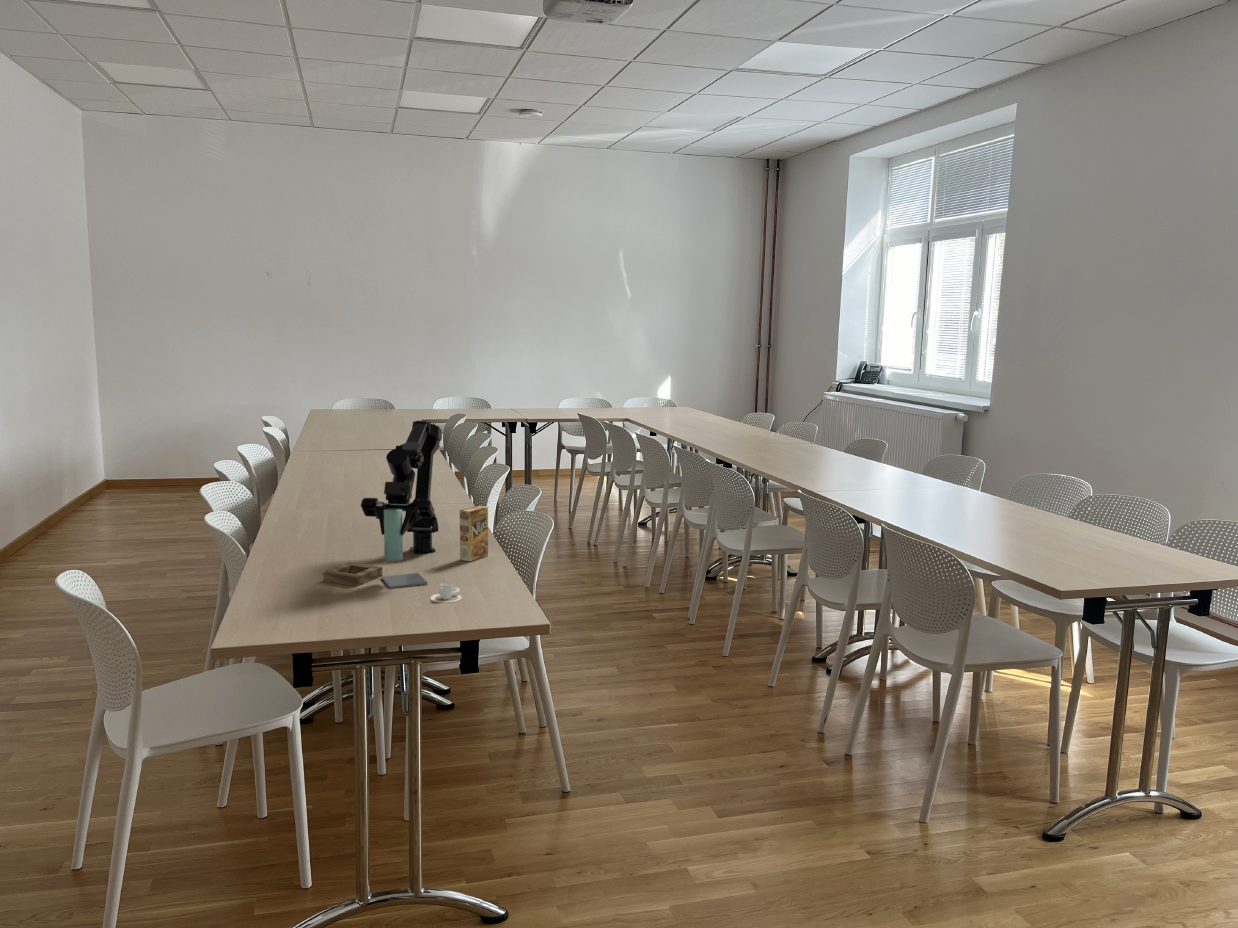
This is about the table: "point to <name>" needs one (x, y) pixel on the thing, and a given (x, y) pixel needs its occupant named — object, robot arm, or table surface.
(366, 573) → the pocket block
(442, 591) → the teacup and saucer
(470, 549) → the candy box
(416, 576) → the coaster
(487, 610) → the table surface
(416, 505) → the robot arm
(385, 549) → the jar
